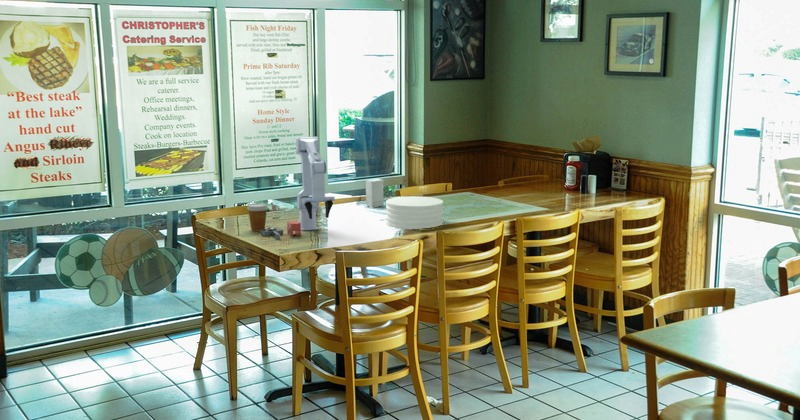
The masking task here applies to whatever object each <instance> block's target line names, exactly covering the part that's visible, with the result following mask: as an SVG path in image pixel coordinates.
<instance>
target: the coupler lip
mask: <svg viewBox="0 0 800 420" xmlns="http://www.w3.org/2000/svg"><path fill="white" fill-rule="evenodd" d="M260 234H261V235H263V237H267V236H271V237H273V238H274V239H276V240H281V236H282V235H284V230H283V229H282V228H281V227H275V226H272V227H271V226H270V227H267V228H265V229H261V231H260Z"/></svg>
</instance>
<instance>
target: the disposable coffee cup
mask: <svg viewBox="0 0 800 420" xmlns="http://www.w3.org/2000/svg"><path fill="white" fill-rule="evenodd" d="M246 209H247V210H248V218H249V224H250V229H251V231H253V232H261V229H266V220H267V211H268V205H267V204H266V203H262V202H261V203H250V204H248V205H247V208H246Z"/></svg>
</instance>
